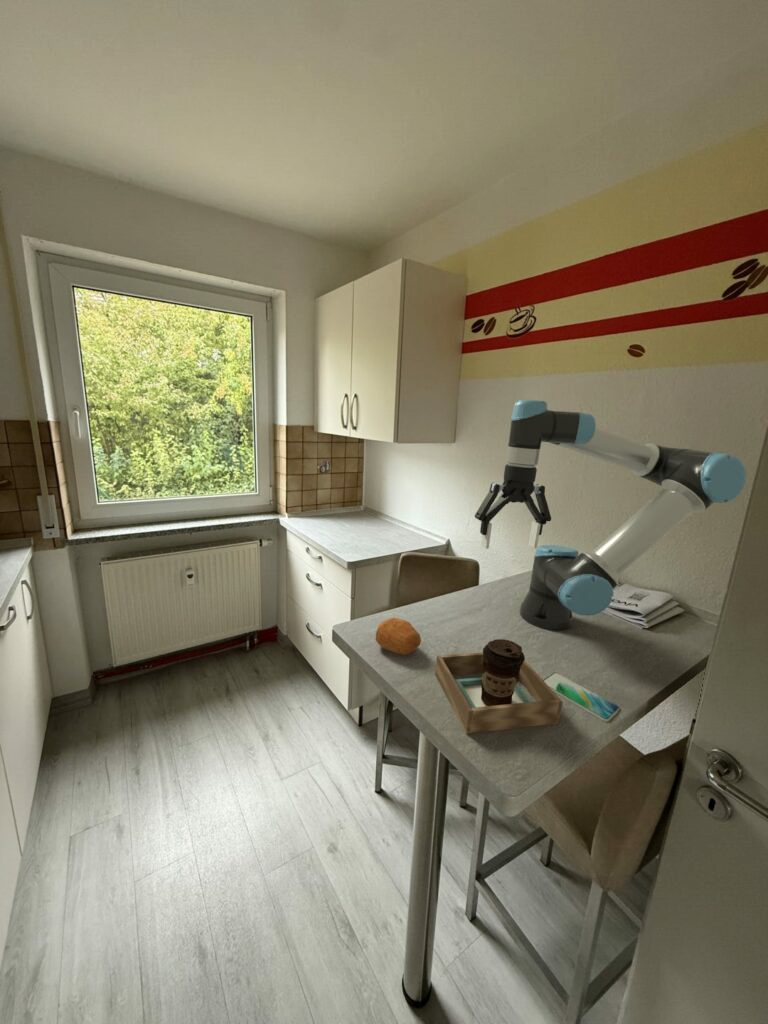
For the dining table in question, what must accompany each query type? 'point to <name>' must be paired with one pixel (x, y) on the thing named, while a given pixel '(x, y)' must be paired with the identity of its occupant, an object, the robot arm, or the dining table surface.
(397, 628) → the potato
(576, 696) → the smartphone
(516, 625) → the dining table surface
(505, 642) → the coffee cup
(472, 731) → the crate
